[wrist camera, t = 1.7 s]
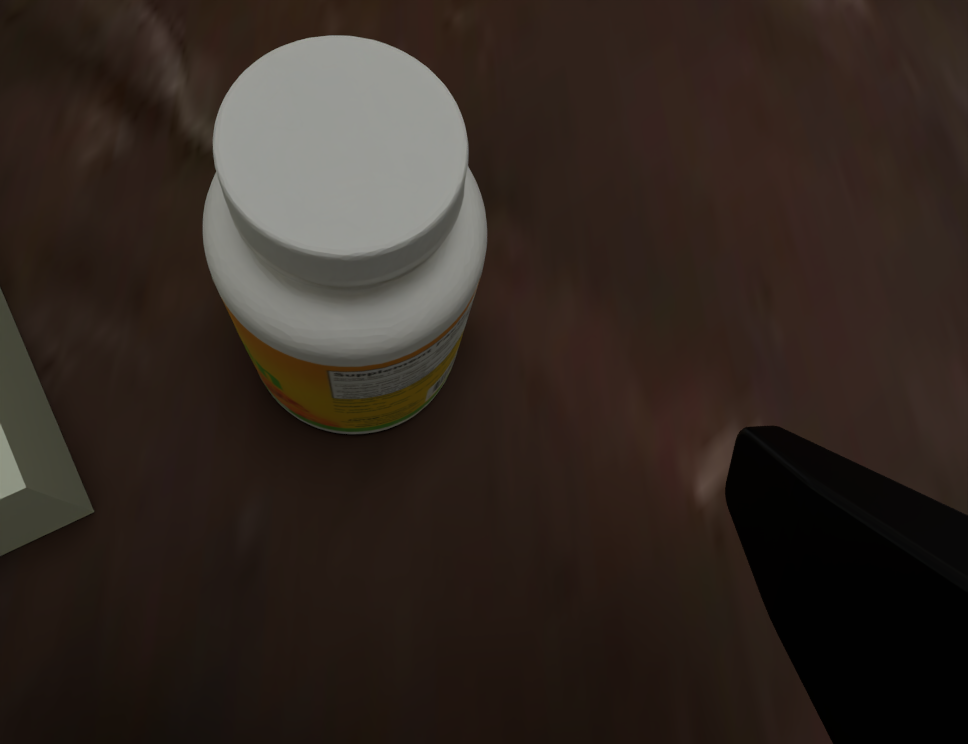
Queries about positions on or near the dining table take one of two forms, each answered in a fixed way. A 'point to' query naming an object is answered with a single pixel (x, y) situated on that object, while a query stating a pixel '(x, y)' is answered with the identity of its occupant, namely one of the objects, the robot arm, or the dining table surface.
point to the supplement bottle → (345, 229)
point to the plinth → (31, 451)
